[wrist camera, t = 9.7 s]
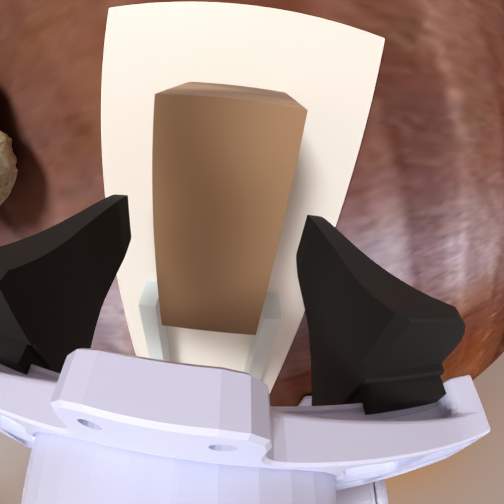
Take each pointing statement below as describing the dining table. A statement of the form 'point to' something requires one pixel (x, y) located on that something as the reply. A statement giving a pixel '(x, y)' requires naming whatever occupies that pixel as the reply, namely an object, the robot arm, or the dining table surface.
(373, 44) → the board
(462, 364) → the dining table surface
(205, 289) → the walnut block
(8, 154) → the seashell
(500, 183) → the dining table surface
